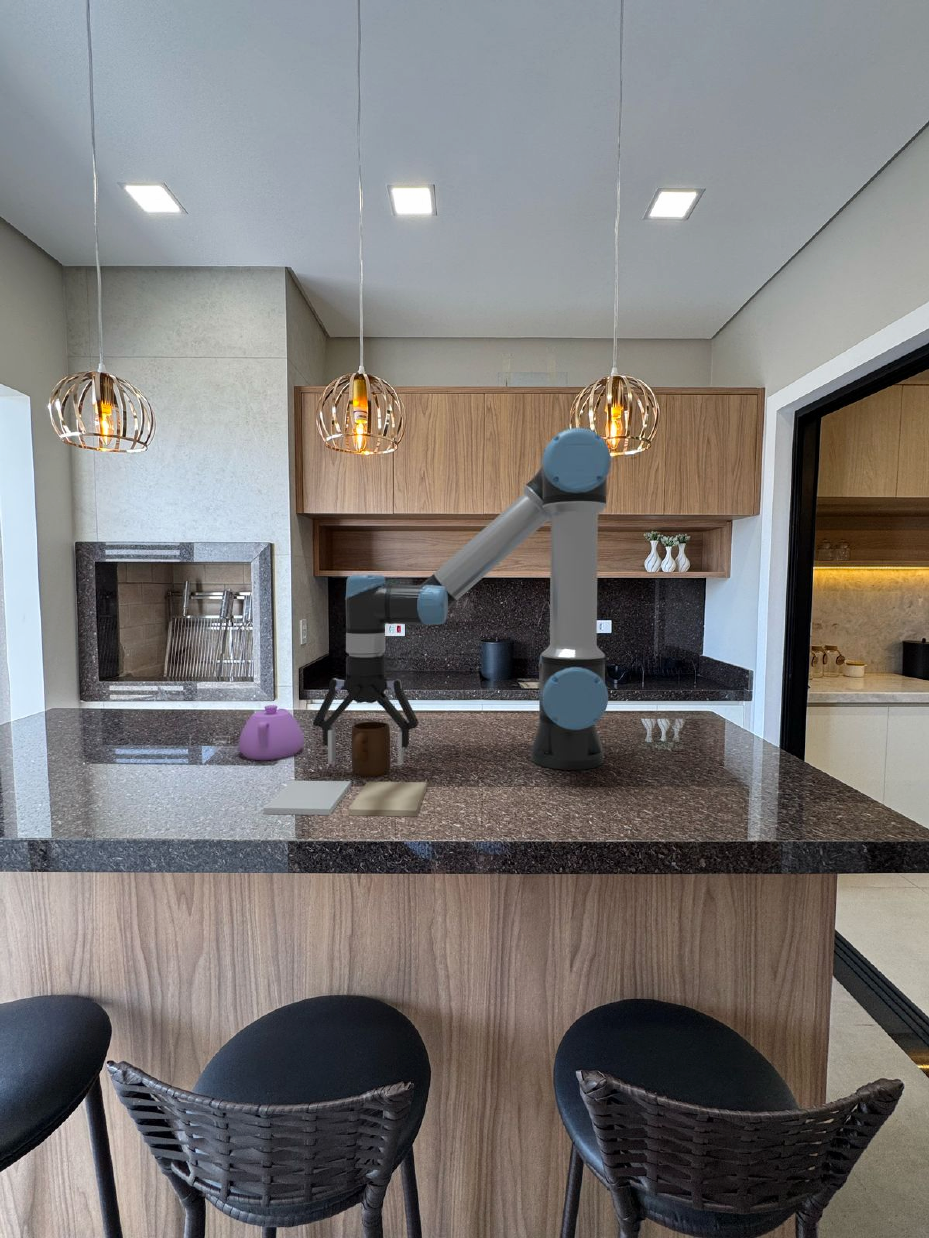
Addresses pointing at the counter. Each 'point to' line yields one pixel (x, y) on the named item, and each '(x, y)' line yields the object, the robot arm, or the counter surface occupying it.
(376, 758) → the mug
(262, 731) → the teapot
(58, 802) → the counter surface
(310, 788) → the tile grey
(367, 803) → the tile oak
